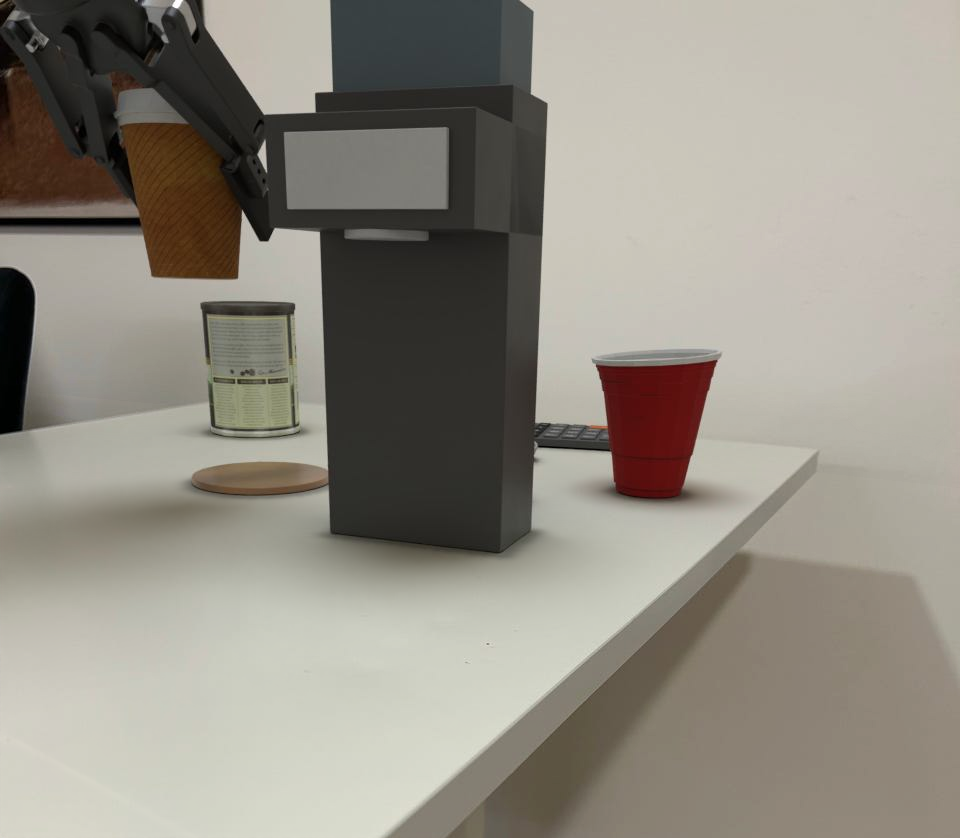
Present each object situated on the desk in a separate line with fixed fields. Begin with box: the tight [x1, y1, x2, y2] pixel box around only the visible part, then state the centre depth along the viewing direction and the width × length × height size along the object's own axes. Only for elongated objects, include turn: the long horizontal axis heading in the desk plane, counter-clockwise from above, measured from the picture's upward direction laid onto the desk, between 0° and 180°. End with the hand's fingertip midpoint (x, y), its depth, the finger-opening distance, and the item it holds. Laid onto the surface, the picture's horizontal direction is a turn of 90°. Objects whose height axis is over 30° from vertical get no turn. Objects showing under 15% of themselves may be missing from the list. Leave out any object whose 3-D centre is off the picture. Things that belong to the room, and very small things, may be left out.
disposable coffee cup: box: [113, 88, 243, 281], centre depth 72 cm, size 10×10×12 cm
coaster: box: [191, 461, 329, 496], centre depth 87 cm, size 12×12×1 cm
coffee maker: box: [264, 0, 549, 553], centre depth 63 cm, size 13×13×33 cm
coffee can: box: [199, 300, 301, 438], centre depth 111 cm, size 10×10×14 cm
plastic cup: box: [590, 348, 723, 499], centre depth 84 cm, size 11×11×12 cm
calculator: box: [535, 422, 610, 450], centre depth 112 cm, size 12×1×15 cm
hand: (218, 227), depth 76 cm, fingers closed on disposable coffee cup, 8 cm apart
